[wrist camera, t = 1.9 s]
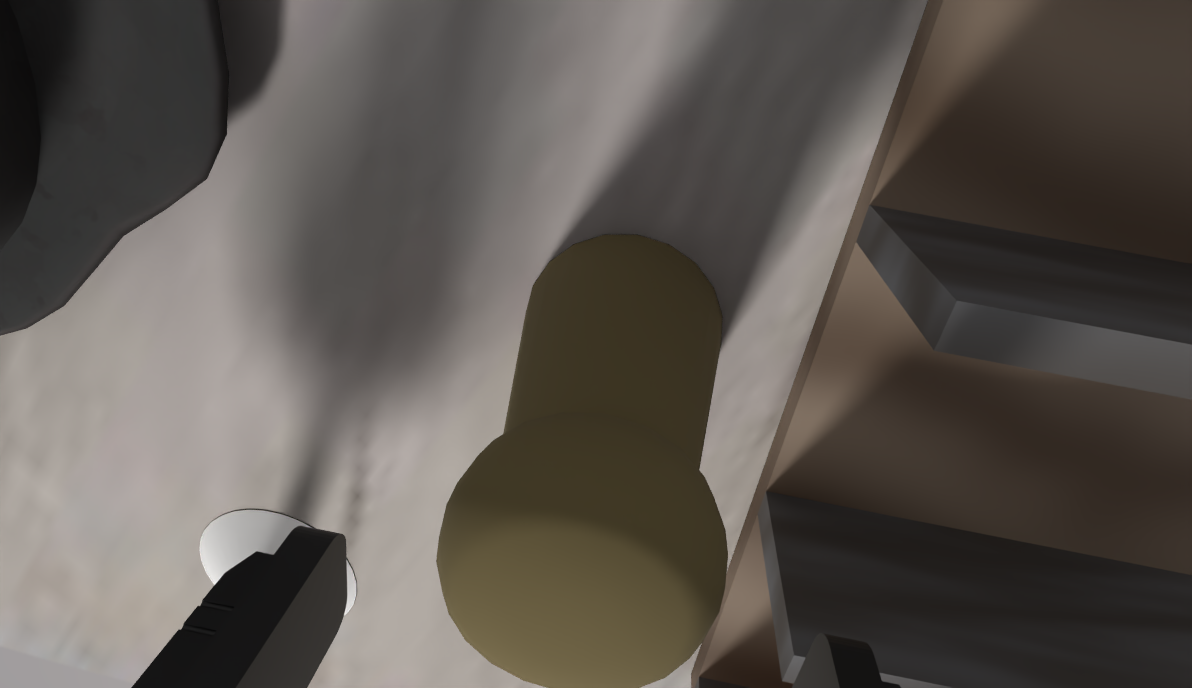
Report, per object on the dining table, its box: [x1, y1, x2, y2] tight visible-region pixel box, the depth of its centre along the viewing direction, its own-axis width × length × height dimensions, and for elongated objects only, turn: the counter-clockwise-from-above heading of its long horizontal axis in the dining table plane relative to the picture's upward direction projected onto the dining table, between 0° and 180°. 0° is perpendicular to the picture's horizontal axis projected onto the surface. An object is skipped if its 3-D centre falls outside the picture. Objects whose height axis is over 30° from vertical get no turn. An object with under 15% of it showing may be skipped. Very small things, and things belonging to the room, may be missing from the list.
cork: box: [436, 235, 728, 688], centre depth 15 cm, size 6×6×11 cm
